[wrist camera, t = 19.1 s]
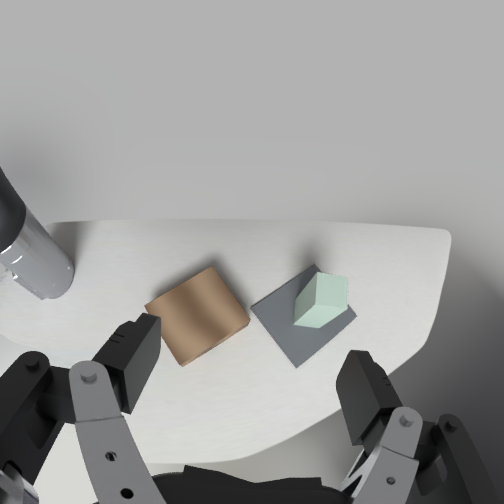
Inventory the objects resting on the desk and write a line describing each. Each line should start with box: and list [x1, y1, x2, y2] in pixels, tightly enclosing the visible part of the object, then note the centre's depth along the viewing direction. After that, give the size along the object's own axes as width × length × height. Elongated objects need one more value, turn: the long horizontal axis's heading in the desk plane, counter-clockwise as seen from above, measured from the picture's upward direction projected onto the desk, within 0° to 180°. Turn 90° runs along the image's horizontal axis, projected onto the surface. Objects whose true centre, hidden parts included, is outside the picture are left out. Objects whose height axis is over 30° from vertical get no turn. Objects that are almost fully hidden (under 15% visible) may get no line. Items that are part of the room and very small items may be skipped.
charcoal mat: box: [251, 264, 357, 368], centre depth 43 cm, size 14×12×1 cm
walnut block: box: [145, 266, 251, 367], centre depth 39 cm, size 12×10×4 cm
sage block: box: [293, 272, 348, 328], centre depth 38 cm, size 4×4×11 cm
